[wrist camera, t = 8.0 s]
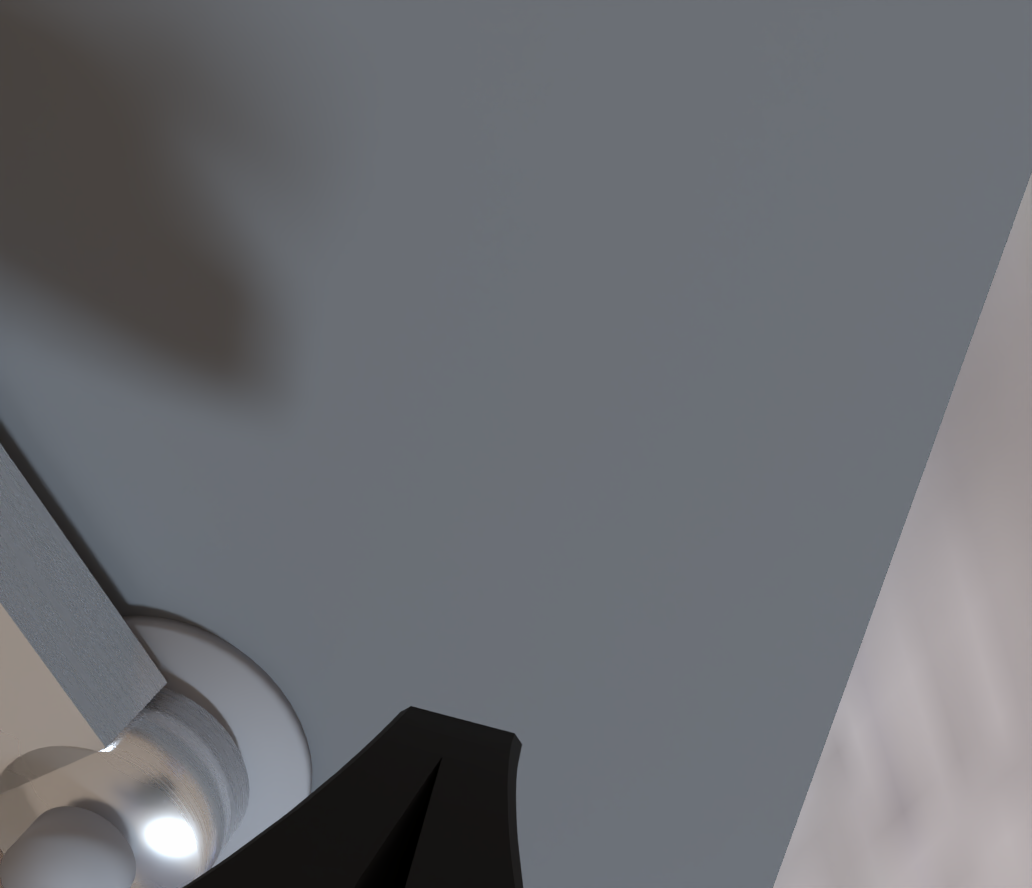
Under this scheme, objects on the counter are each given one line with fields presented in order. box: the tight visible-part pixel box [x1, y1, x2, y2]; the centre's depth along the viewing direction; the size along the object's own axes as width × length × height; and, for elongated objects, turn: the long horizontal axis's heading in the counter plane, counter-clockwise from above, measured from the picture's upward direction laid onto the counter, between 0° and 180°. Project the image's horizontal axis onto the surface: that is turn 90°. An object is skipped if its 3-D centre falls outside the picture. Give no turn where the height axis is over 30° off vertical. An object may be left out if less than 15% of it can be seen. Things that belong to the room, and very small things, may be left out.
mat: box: [0, 0, 1032, 888], centre depth 15 cm, size 24×27×5 cm
